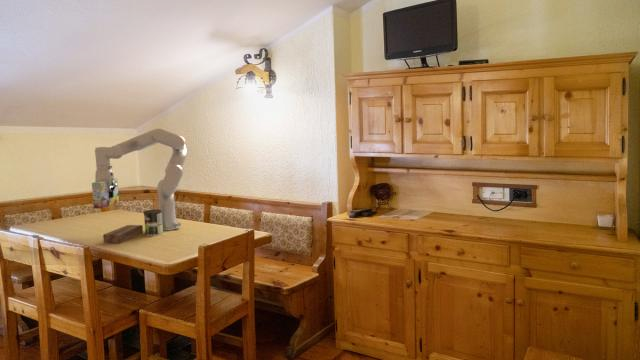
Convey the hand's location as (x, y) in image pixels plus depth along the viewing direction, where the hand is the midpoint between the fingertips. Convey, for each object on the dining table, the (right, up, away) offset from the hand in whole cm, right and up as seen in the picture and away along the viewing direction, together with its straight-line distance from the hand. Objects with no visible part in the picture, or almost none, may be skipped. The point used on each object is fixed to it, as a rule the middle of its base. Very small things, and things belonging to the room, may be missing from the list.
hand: (106, 197), depth 271 cm
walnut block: (+12, -24, -4) cm, 27 cm away
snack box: (0, -5, +1) cm, 5 cm away
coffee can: (+27, -22, +5) cm, 35 cm away
